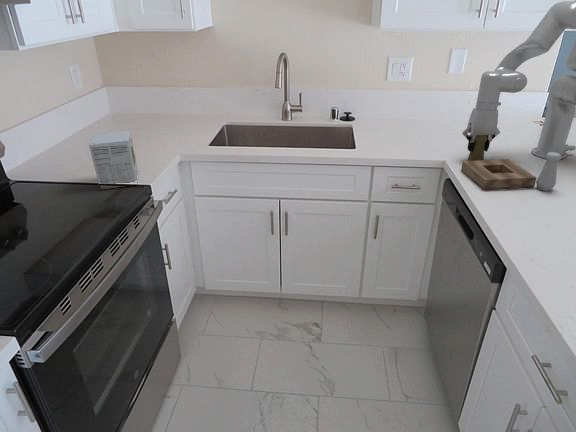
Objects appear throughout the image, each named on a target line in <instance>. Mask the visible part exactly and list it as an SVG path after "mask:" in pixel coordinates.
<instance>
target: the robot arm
mask: <svg viewBox="0 0 576 432" xmlns="http://www.w3.org/2000/svg"><path fill="white" fill-rule="evenodd" d="M566 29H569V30H576V0H575V1H574V0H565V1H564V0H563V1H559V2H556V3H555V4H554V5H552V6H551V7H550V8H549V9H548V11H547V12H546V14H545V15H544V16H543V17H542V19H541V20H540V21H539V23H538V24H537V25H536V27H535V28H534V30H533V31H532V32H531V34H530V35H529V36H528V37H527V38H526V40H524V42H522V43H520V44H519V45H517V46H516V47H515V48H514V49H513V50H511V51H510V52H509V53H507V54H506V55H505V56H504V57H503V59H502V60H501V61H500V63H498V65H497V67H496V68H495V69H494V70H493V71H490V70H488V71H485V72H483V73H482V75H481V77H480V83H479V89H478V94H477V98H476V103H475V104H476V105H475V107H473V108H472V110H471V112H470V116H469V118H468V122H467V126H466V128H465V129H464V130H463V131H462V133H461V135H463V136H464V138H465V139H466V140H467V141H468V143H467V151H468V152H469V153H470V152H473V149H474V144H475V143H474V140H475V138H476V136H479V135H487V140H486V142H485V148H484V152H488V150H489V148H490V144H491V142H492V141H493V140H494V138H496V137H497V136H498V135H499V134H501V131H500V130H499V128H498V122H499V109H498V107H500V106H501V105H502V103H501V102H500V96H501V93H510V94H516V93H519V92H521V91H523V90H524V89H525V88H526V86H527V84H528V78H527V76H526V75H525V74H524V73H523V72H520V71H518V70H517V69H518V68H519V67H520V66H521V65H523V63H525V62H526V61H528V60H531V59H533V58H536V57H539V56H541V55H544V54H546V53H547V52H549V51H550V50H551V48H552V47H553V46H554V44H556V42H557V40H558V39H559V38H560V36H561V35H562V34H563V33H564V32H565V30H566ZM566 68H567V69H568V70H570V71H572V72H575V73H576V40H575V41H574V43H573V45H572V48H571V49H570V52H569V54H568V57H567V60H566ZM548 97H549V99H548V105H547V109H546V114H545V117H544V120H543V124H542V128H541V130H540V135H539V139H538V143H537V146H536V147H534V148H532V149H531V154H532V155H533V156H536V157H539V158H541V159H546V155H547V153H549V152H555V153H559V154H560V155H561V159H560V160H563V159H566V157H567V156H568V154H567V152H568V151H576V145H569V144H566V143H567V141H568V137H569V133H570V130H571V127H572V124H573V121H574V117H575V114H576V75H572V74H563V75H560V76H558V77H556V78H555V79H554V80H553V81H552V83H551V85H550V87H549V96H548Z"/></svg>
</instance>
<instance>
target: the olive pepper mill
mask: <svg viewBox="0 0 576 432" xmlns="http://www.w3.org/2000/svg"><path fill="white" fill-rule="evenodd" d="M486 140H487V135H479V136H476V138H475V140H474V143H475V144H474V149H473V152H470V151H469V154H468V157H467V161H479V160H485V151H484V148H485V142H486Z"/></svg>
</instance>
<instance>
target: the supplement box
mask: <svg viewBox="0 0 576 432" xmlns="http://www.w3.org/2000/svg"><path fill="white" fill-rule="evenodd" d="M88 147H89V151H90V155H91V159H92V162H93V167H94V171H95V174H96V179H97V182H98V185H99V184H116V183H130V182H135V181H136V180H137V175H138V172H139V168H138V163H137V159H136V152H135V149H134V144H133V138H132V134H131V131H130V130H124V131H113V132H102V133H94V134H93V136H92V138H91V140H90V142H89V144H88Z"/></svg>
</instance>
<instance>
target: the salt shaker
mask: <svg viewBox="0 0 576 432" xmlns="http://www.w3.org/2000/svg"><path fill="white" fill-rule="evenodd" d="M545 160H546V161H545V163H544V165H543V166H542V169H541V171H540V173H539V175H538V177H537V179H536V182H535V185H536V187H537V189H538V190H539V189H540V190H539V191H541V190H543V191H542V192H550V191H551V190H553V188H555V186H556V184H557V173H558V163H559V162H560V160H562V159H561V155H560V154H559V153H555V152H549V153H547V155H546V158H545ZM549 190H550V191H549Z"/></svg>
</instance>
